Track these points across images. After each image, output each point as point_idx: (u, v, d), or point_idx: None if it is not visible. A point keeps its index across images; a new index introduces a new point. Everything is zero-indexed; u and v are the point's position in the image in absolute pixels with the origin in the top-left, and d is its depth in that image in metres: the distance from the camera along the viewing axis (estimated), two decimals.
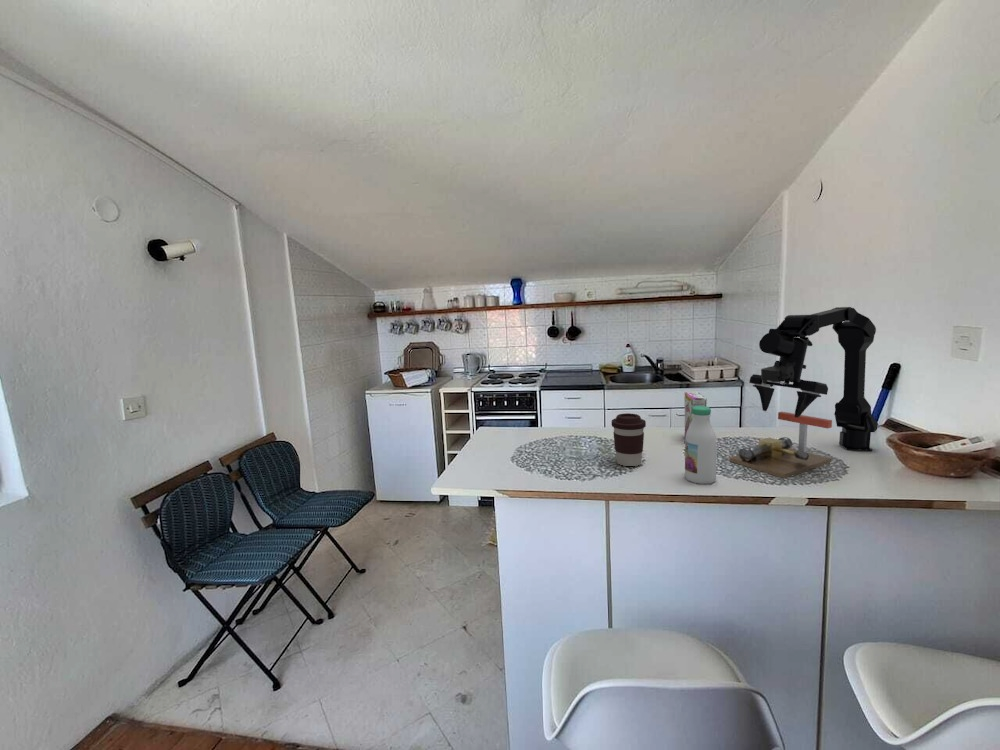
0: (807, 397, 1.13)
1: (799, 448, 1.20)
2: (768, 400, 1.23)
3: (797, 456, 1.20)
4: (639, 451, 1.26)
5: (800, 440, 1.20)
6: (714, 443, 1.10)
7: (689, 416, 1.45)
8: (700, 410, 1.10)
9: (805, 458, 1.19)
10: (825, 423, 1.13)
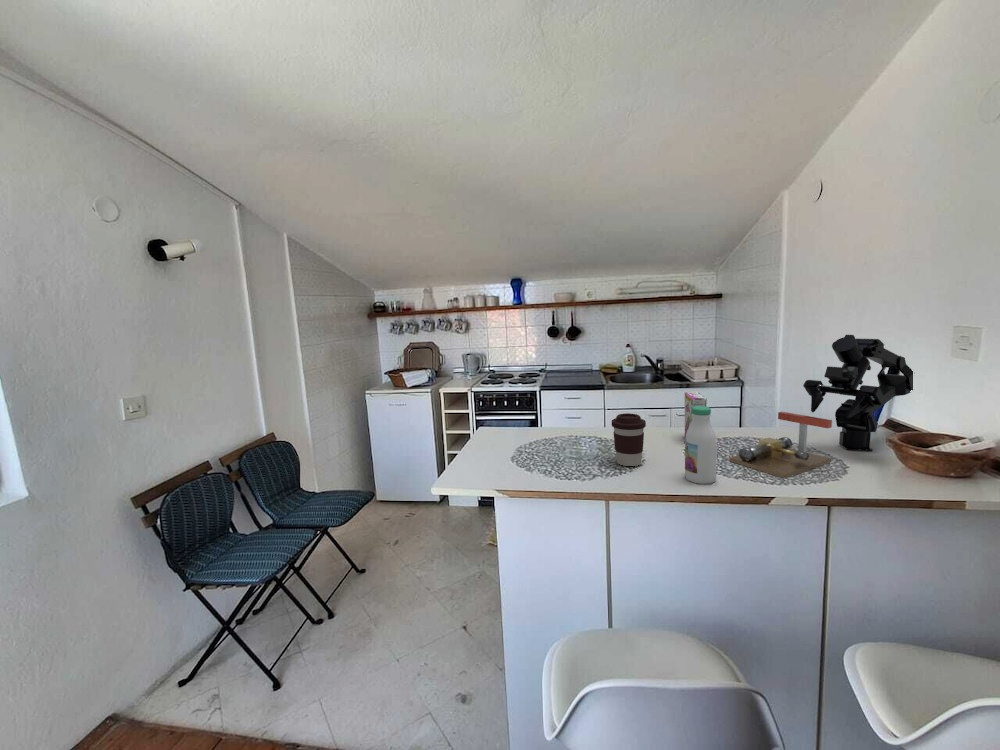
0: (862, 403, 1.21)
1: (799, 448, 1.20)
2: (817, 404, 1.29)
3: (797, 456, 1.20)
4: (639, 451, 1.26)
5: (800, 440, 1.20)
6: (714, 443, 1.10)
7: (689, 416, 1.45)
8: (700, 410, 1.10)
9: (805, 458, 1.19)
10: (825, 423, 1.13)
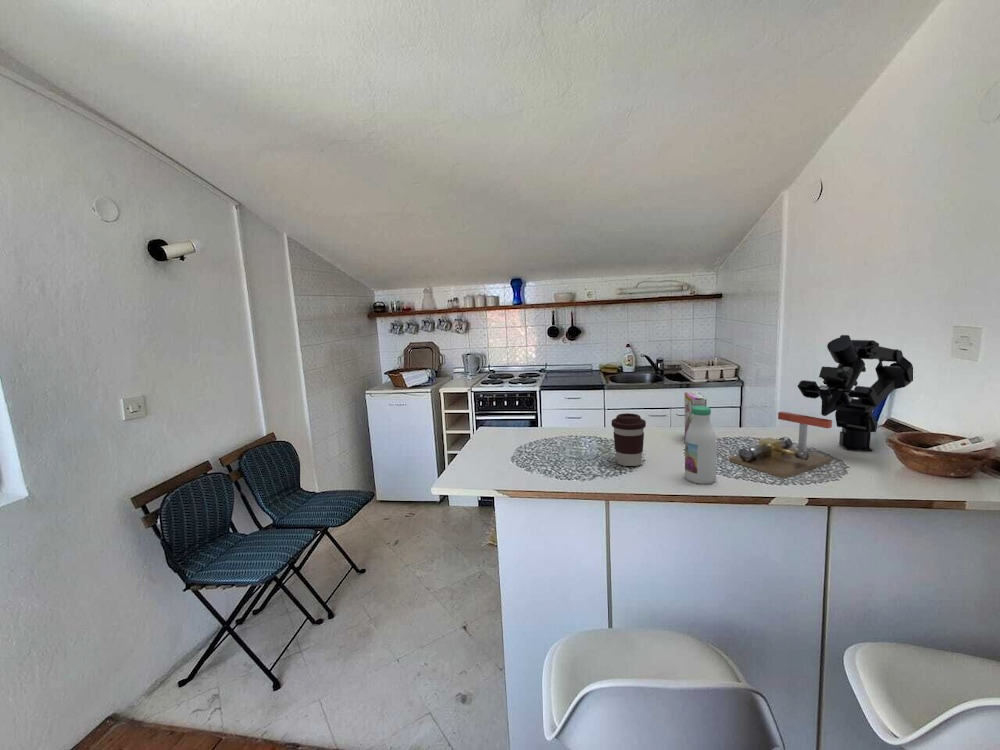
0: (838, 401, 1.23)
1: (799, 448, 1.20)
2: None
3: (797, 456, 1.20)
4: (639, 451, 1.26)
5: (800, 440, 1.20)
6: (714, 443, 1.10)
7: (689, 416, 1.45)
8: (700, 410, 1.10)
9: (805, 458, 1.19)
10: (825, 423, 1.13)
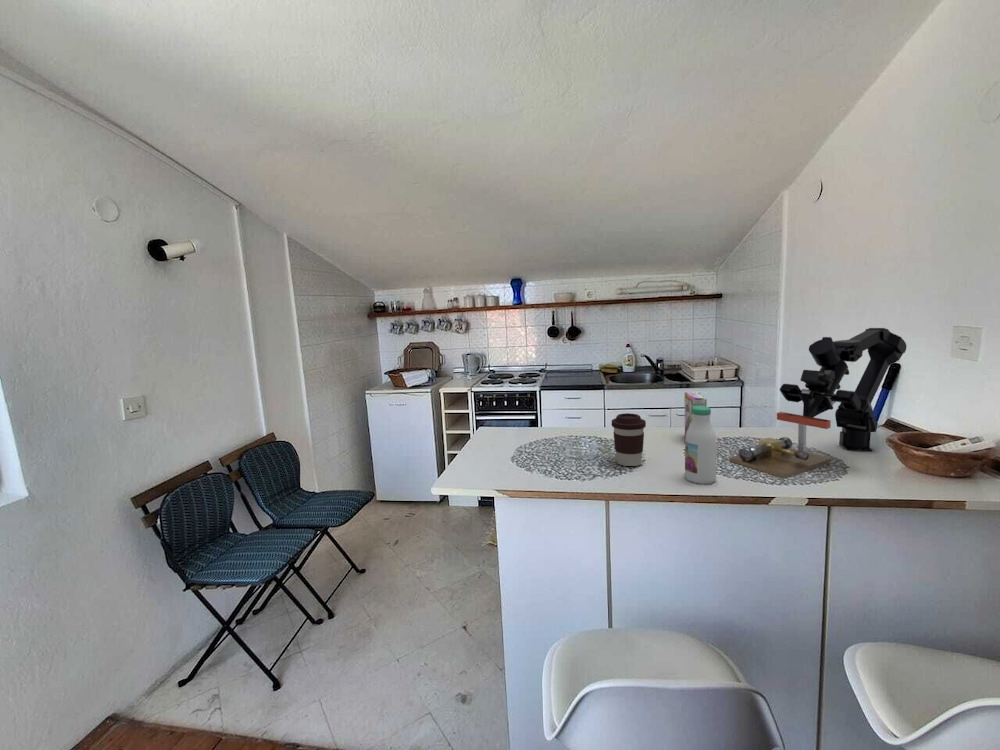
0: (820, 406, 1.19)
1: (799, 448, 1.20)
2: None
3: (797, 456, 1.20)
4: (639, 451, 1.26)
5: (799, 440, 1.20)
6: (714, 443, 1.10)
7: (689, 416, 1.45)
8: (700, 410, 1.10)
9: (805, 458, 1.19)
10: (824, 424, 1.13)
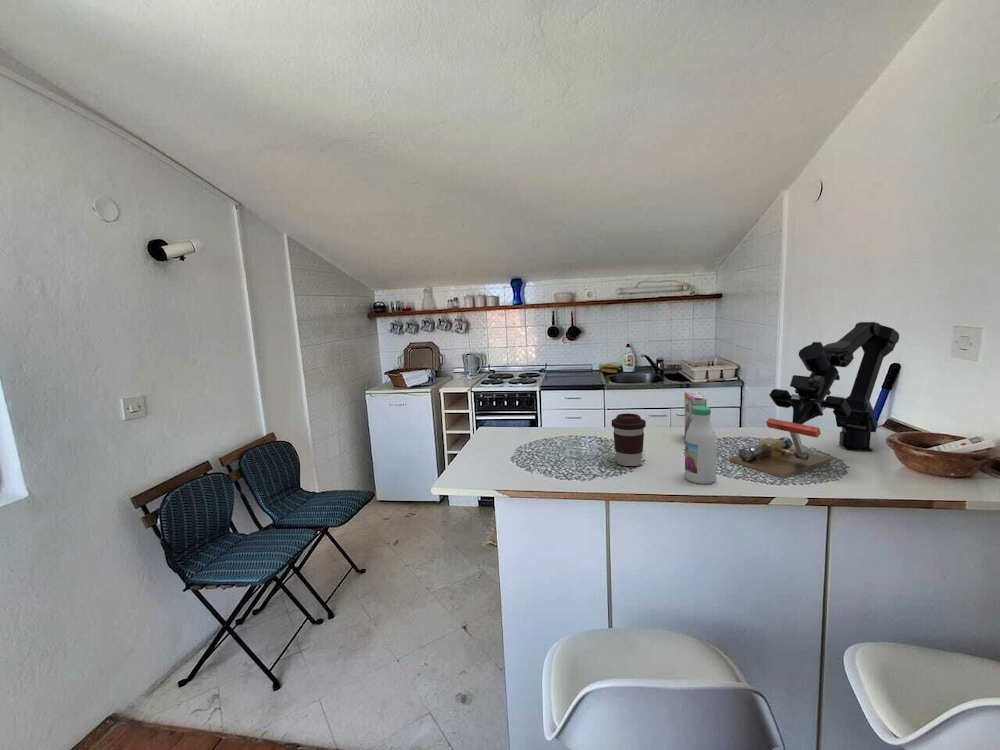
0: (810, 412, 1.17)
1: (797, 451, 1.20)
2: None
3: (797, 457, 1.21)
4: (639, 451, 1.26)
5: (795, 444, 1.19)
6: (714, 443, 1.10)
7: (689, 416, 1.45)
8: (700, 410, 1.10)
9: (806, 458, 1.19)
10: (813, 433, 1.11)
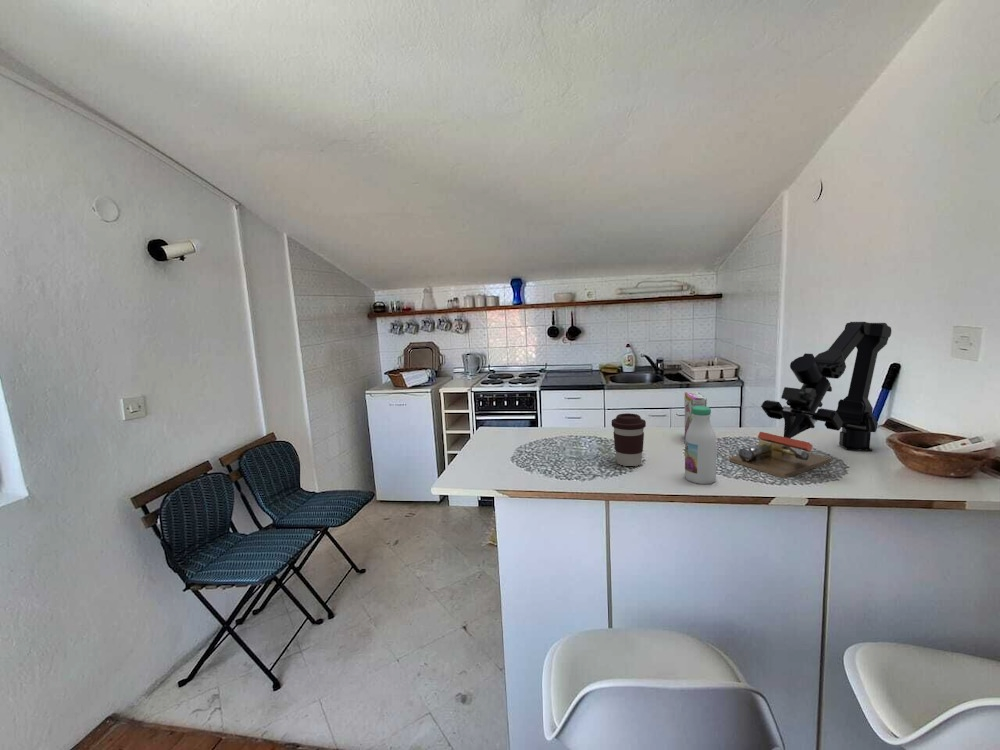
0: (801, 424, 1.16)
1: (796, 454, 1.20)
2: None
3: (798, 458, 1.21)
4: (639, 451, 1.26)
5: (792, 451, 1.18)
6: (714, 443, 1.10)
7: (689, 416, 1.45)
8: (700, 410, 1.10)
9: (806, 458, 1.19)
10: (805, 449, 1.10)
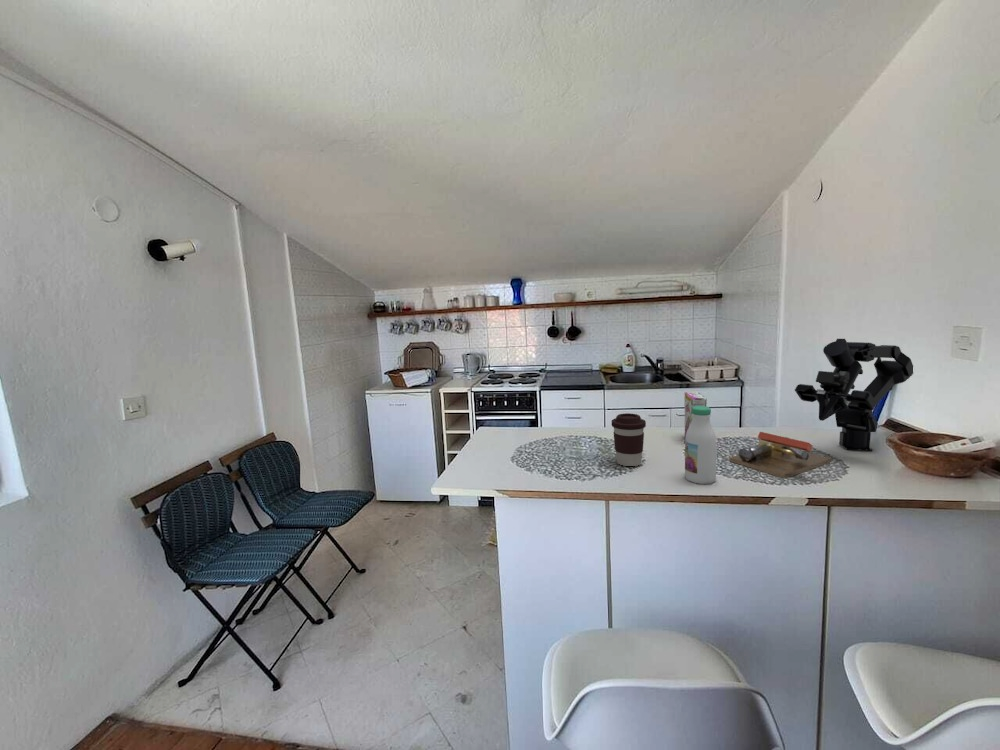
0: (835, 405, 1.23)
1: (796, 454, 1.20)
2: None
3: (798, 458, 1.21)
4: (639, 451, 1.26)
5: (792, 451, 1.18)
6: (714, 443, 1.10)
7: (689, 416, 1.45)
8: (700, 410, 1.10)
9: (806, 458, 1.19)
10: (805, 449, 1.10)
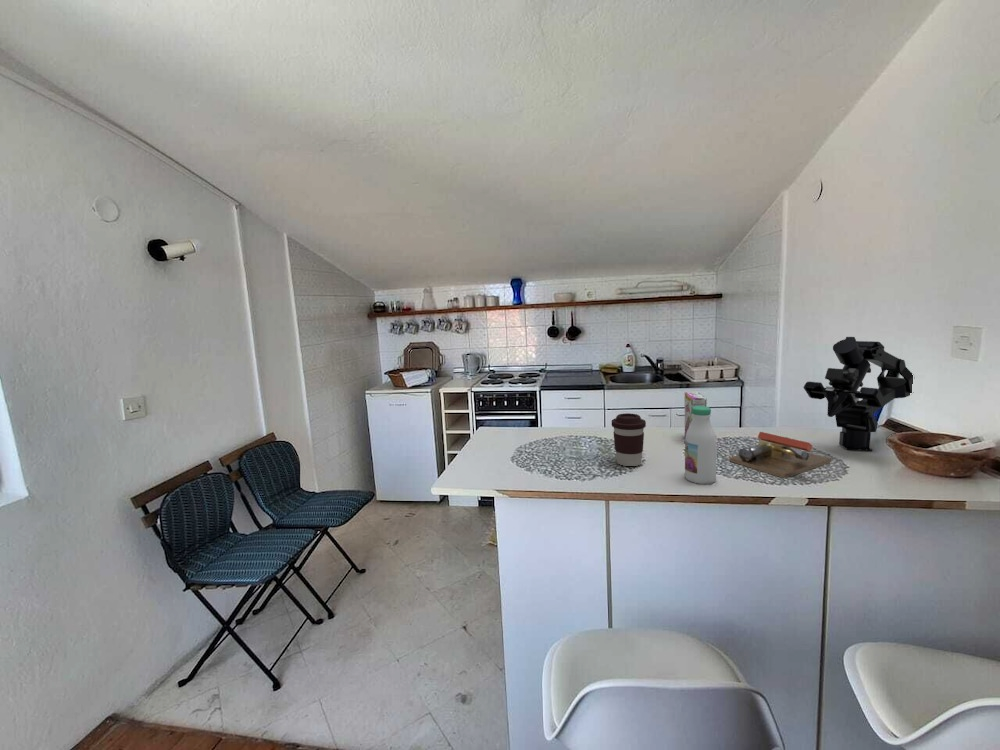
0: (844, 402, 1.25)
1: (796, 454, 1.20)
2: None
3: (798, 458, 1.21)
4: (639, 451, 1.26)
5: (792, 451, 1.18)
6: (714, 443, 1.10)
7: (689, 416, 1.45)
8: (700, 410, 1.10)
9: (806, 458, 1.19)
10: (805, 449, 1.10)
